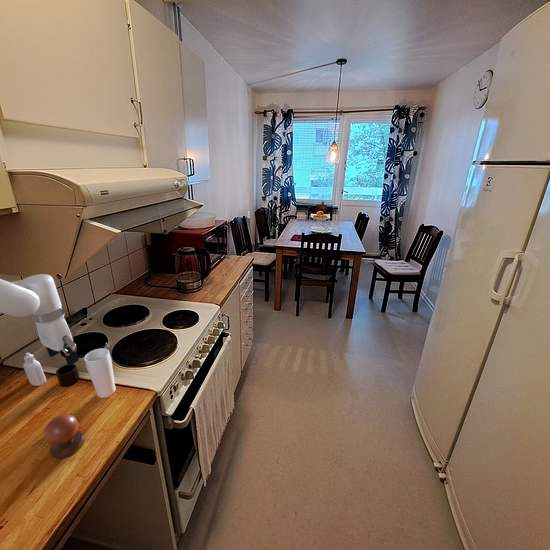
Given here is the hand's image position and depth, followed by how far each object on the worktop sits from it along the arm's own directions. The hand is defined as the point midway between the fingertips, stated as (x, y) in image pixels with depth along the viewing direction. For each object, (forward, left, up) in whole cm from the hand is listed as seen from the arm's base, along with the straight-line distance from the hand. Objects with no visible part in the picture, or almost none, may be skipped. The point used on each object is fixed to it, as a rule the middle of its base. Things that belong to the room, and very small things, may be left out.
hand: (64, 358), depth 94 cm
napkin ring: (0, 0, -9) cm, 9 cm away
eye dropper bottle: (-5, +9, -9) cm, 14 cm away
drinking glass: (+2, -16, -9) cm, 19 cm away
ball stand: (-15, -24, -9) cm, 30 cm away
